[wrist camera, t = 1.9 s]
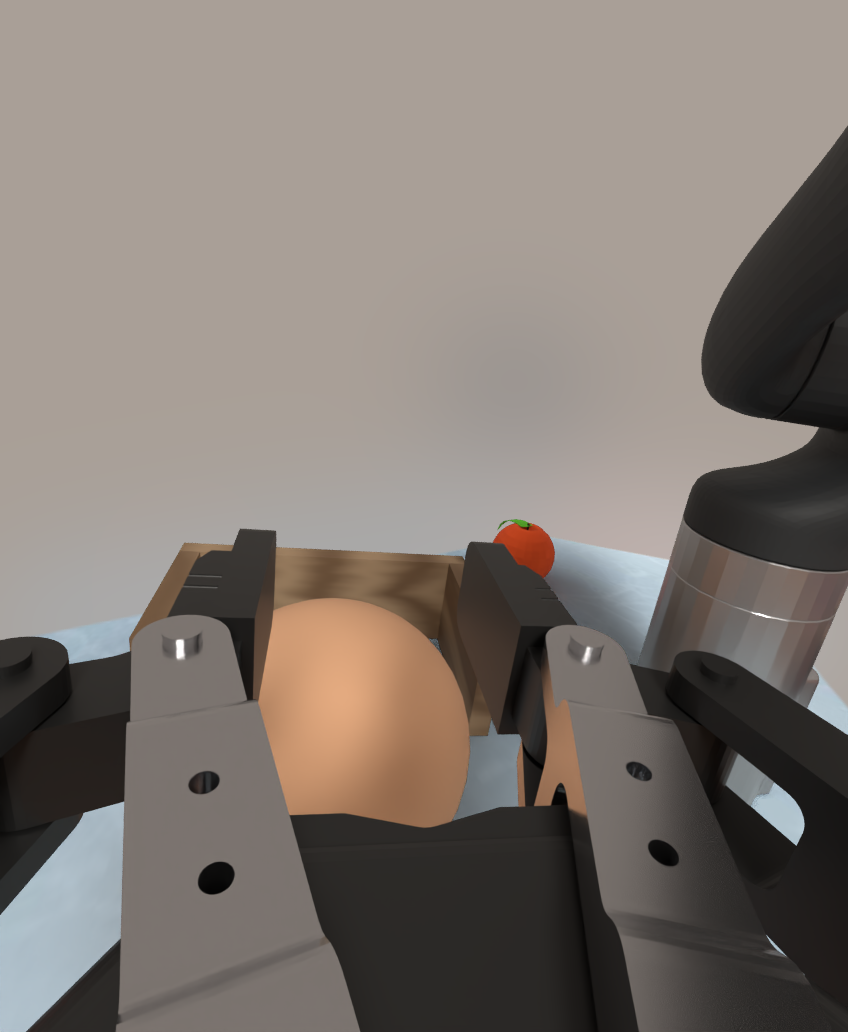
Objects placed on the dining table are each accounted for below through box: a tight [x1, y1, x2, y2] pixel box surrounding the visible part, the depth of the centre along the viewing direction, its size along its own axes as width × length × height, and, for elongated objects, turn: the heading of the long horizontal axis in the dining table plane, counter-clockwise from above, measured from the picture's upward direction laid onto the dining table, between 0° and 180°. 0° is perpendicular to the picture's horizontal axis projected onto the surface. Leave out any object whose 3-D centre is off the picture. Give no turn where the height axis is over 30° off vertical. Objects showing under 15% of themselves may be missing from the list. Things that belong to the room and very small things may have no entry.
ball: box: [258, 598, 470, 828], centre depth 28 cm, size 14×14×14 cm
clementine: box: [493, 519, 555, 578], centre depth 62 cm, size 8×7×7 cm
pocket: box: [129, 543, 491, 736], centre depth 42 cm, size 23×14×8 cm, turn 99°
